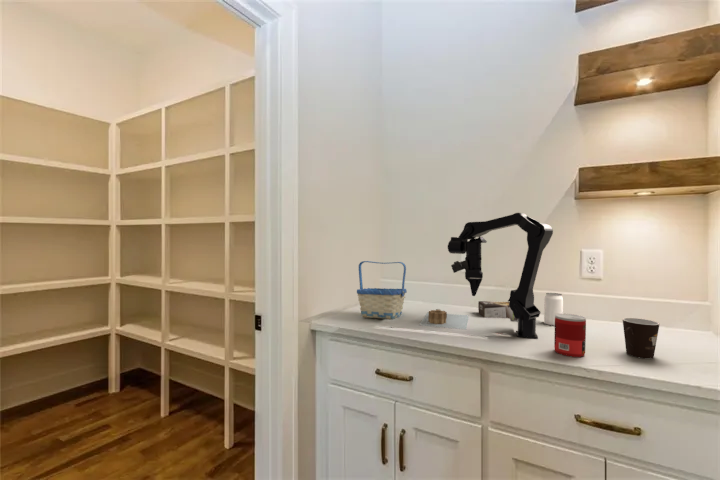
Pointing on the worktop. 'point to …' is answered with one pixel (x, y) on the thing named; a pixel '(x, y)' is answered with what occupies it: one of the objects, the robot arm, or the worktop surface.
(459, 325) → the gear board
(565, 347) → the canned food
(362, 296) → the basket
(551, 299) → the can
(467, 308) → the worktop surface
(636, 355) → the coffee mug
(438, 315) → the oak gear
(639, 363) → the worktop surface
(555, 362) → the worktop surface
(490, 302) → the coffee box
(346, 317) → the worktop surface
